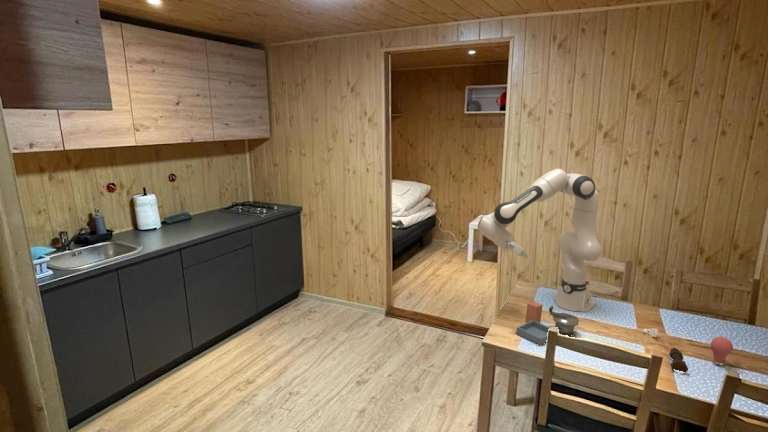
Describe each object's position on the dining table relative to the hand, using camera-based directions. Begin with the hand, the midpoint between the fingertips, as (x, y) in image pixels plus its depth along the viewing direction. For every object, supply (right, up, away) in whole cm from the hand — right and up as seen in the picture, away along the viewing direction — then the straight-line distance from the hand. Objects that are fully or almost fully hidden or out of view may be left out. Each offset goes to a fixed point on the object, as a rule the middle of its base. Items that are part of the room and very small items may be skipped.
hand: (530, 258), depth 199 cm
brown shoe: (+51, -41, -28) cm, 71 cm away
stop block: (+3, -32, +4) cm, 32 cm away
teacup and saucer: (+57, -36, -5) cm, 67 cm away
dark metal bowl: (+13, -34, -4) cm, 36 cm away
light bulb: (+68, -41, -28) cm, 84 cm away
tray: (0, -34, -9) cm, 36 cm away
